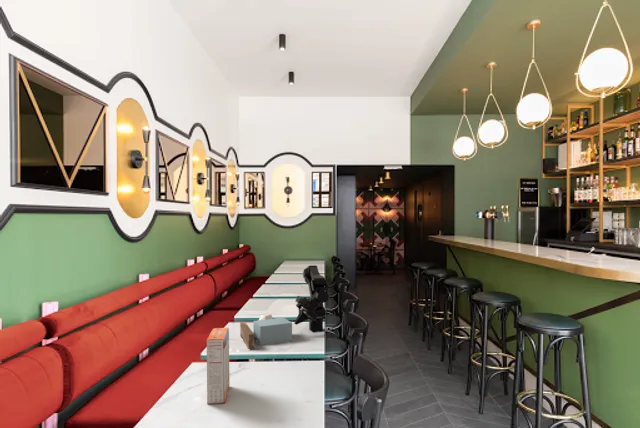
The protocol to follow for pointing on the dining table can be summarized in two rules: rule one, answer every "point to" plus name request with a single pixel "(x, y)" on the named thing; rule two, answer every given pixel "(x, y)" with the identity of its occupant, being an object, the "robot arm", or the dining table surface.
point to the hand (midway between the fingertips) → (295, 324)
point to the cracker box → (217, 365)
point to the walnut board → (247, 335)
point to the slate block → (272, 331)
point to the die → (265, 316)
